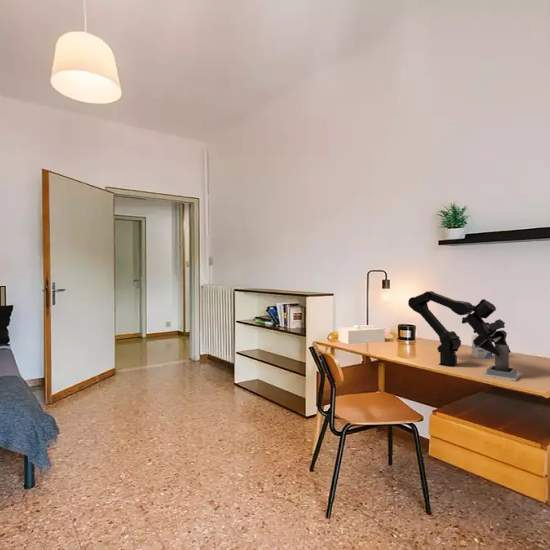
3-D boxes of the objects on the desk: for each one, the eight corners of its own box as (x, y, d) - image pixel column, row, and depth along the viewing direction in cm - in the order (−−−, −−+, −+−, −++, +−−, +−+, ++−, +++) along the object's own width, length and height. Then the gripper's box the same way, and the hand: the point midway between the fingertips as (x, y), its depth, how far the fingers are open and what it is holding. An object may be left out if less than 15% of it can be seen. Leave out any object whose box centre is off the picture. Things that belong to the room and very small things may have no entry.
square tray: (483, 376, 168) (482, 369, 168) (489, 371, 176) (489, 364, 176) (515, 381, 160) (515, 373, 160) (520, 375, 168) (520, 368, 168)
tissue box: (338, 340, 256) (338, 324, 256) (373, 338, 263) (373, 322, 262) (348, 344, 242) (348, 327, 242) (384, 342, 249) (384, 325, 249)
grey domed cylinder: (492, 372, 169) (492, 344, 169) (500, 371, 172) (500, 343, 171) (503, 375, 165) (503, 347, 165) (511, 374, 167) (511, 345, 167)
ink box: (487, 355, 207) (487, 333, 207) (492, 358, 202) (492, 335, 202) (471, 356, 207) (471, 333, 206) (476, 358, 202) (476, 335, 201)
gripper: (480, 315, 166) (507, 345, 157) (502, 312, 177) (529, 340, 168) (462, 331, 173) (488, 361, 164) (484, 327, 183) (509, 355, 174)
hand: (504, 354), depth 167 cm, fingers open, 9 cm apart
